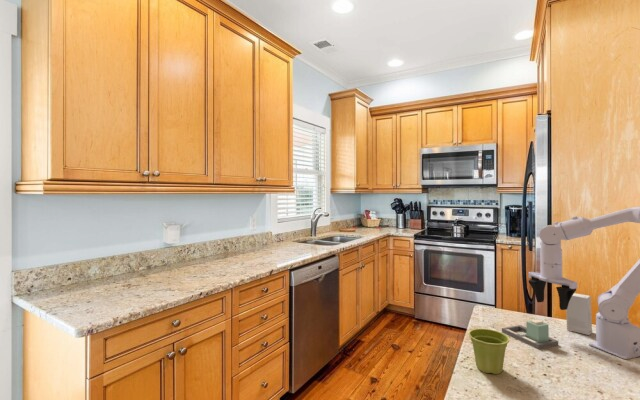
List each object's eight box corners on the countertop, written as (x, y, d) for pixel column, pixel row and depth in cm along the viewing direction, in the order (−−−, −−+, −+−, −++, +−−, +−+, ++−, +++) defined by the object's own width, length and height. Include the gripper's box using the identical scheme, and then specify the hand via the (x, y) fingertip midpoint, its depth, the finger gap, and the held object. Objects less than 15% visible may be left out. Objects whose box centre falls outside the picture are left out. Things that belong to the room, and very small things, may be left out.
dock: (558, 345, 98) (558, 340, 98) (538, 349, 95) (538, 344, 95) (520, 328, 110) (520, 324, 110) (501, 331, 108) (501, 327, 108)
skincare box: (592, 332, 106) (592, 295, 106) (589, 336, 103) (588, 298, 103) (569, 326, 111) (569, 291, 111) (565, 330, 108) (565, 294, 108)
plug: (548, 344, 98) (548, 322, 98) (538, 346, 97) (538, 324, 97) (536, 338, 102) (536, 317, 102) (526, 340, 101) (526, 319, 101)
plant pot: (494, 382, 79) (493, 347, 79) (461, 365, 87) (461, 332, 87) (517, 372, 83) (517, 338, 83) (484, 356, 91) (483, 325, 91)
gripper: (521, 259, 109) (521, 300, 109) (565, 268, 95) (565, 314, 96) (537, 258, 111) (537, 297, 111) (582, 266, 98) (582, 311, 98)
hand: (551, 305), depth 104 cm, fingers open, 7 cm apart
